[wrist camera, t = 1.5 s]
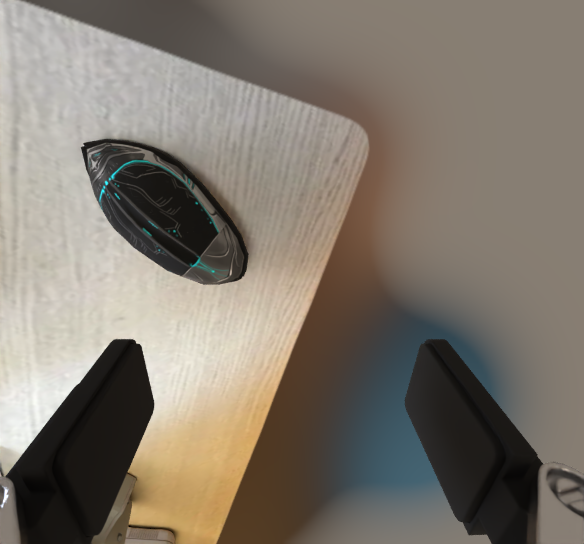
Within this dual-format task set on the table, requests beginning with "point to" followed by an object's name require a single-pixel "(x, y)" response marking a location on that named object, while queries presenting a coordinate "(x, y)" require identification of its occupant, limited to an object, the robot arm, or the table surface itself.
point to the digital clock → (118, 516)
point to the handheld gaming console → (149, 536)
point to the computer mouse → (165, 211)
